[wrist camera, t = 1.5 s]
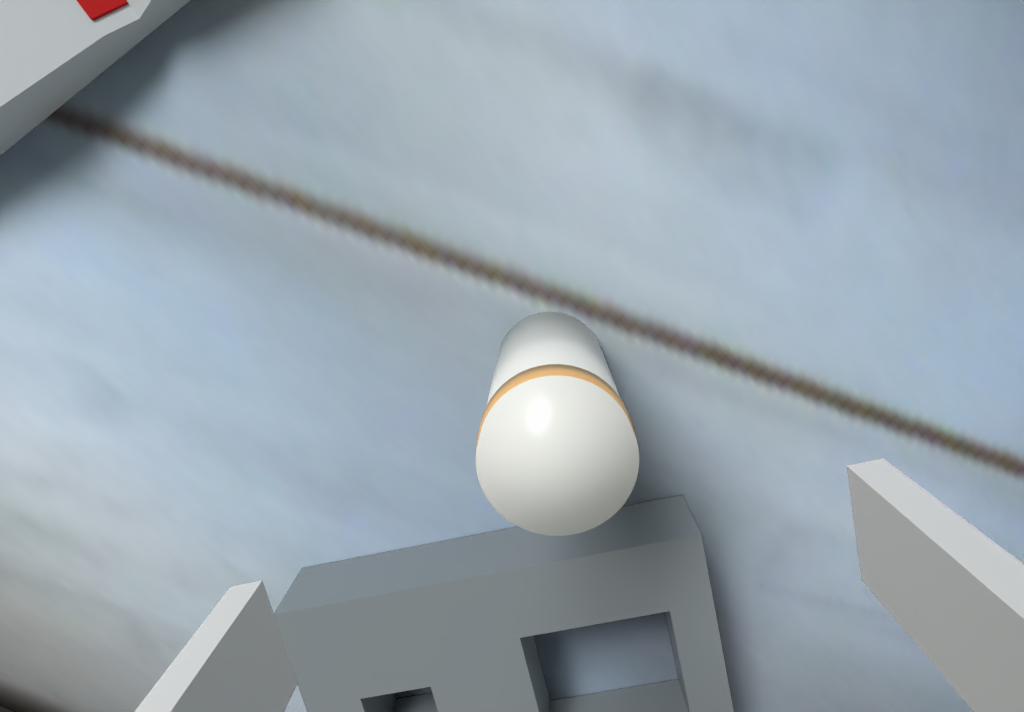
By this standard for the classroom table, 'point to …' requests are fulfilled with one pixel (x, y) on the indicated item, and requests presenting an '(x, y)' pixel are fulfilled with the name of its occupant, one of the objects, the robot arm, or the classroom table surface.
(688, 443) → the classroom table surface
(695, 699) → the fitting block
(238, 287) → the classroom table surface
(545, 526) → the white banded cylinder
